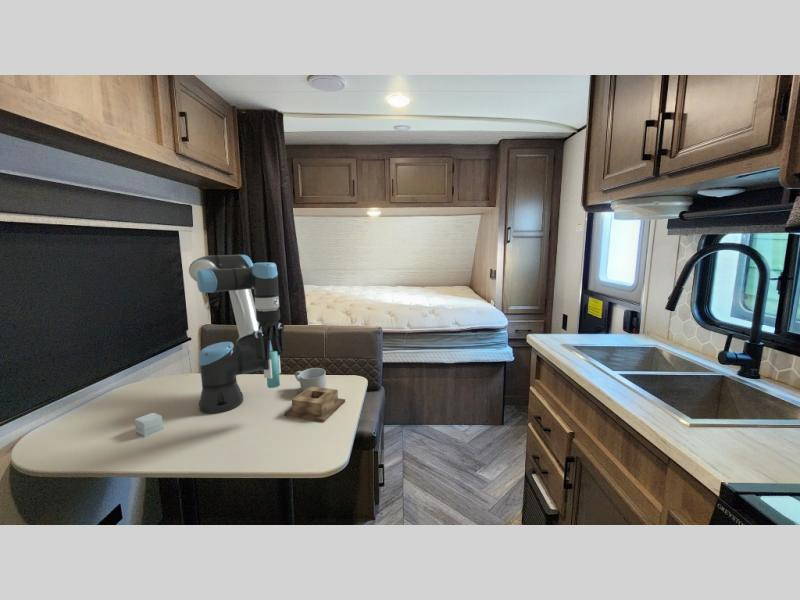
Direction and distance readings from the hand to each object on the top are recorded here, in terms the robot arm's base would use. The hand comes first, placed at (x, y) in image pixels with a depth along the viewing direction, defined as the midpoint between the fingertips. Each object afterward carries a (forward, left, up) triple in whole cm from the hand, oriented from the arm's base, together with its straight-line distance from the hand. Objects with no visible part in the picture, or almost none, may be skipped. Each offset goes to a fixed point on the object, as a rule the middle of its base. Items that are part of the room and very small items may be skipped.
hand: (272, 375), depth 118 cm
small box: (-35, -19, -16) cm, 43 cm away
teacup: (-1, +24, -16) cm, 29 cm away
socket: (+10, +10, -16) cm, 21 cm away
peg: (0, 0, -4) cm, 4 cm away
